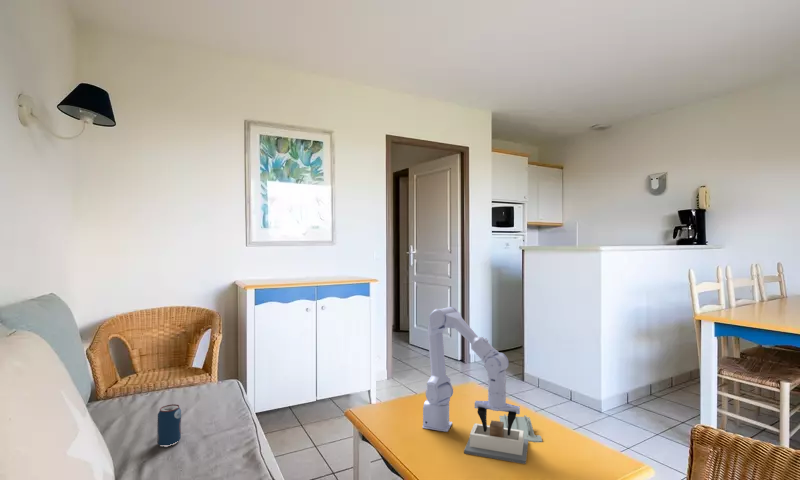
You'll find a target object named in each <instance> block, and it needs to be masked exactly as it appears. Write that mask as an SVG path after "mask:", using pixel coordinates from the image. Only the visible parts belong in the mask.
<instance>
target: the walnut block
mask: <svg viewBox="0 0 800 480" xmlns="http://www.w3.org/2000/svg"><path fill="white" fill-rule="evenodd" d="M489 426H490V436H495V437H501V438H504V422H500V420H493V419H492V420H490V424H489Z"/></svg>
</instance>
